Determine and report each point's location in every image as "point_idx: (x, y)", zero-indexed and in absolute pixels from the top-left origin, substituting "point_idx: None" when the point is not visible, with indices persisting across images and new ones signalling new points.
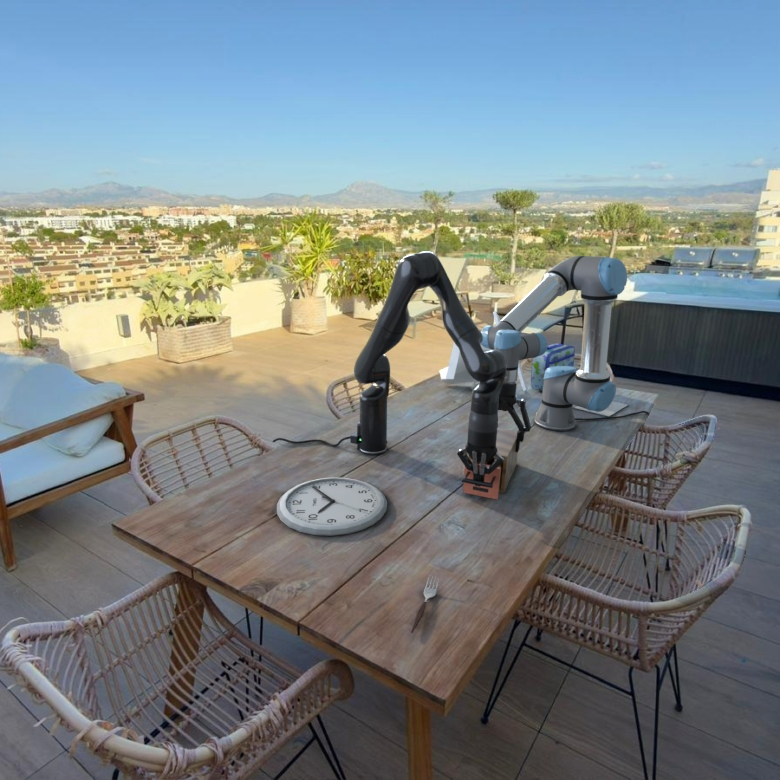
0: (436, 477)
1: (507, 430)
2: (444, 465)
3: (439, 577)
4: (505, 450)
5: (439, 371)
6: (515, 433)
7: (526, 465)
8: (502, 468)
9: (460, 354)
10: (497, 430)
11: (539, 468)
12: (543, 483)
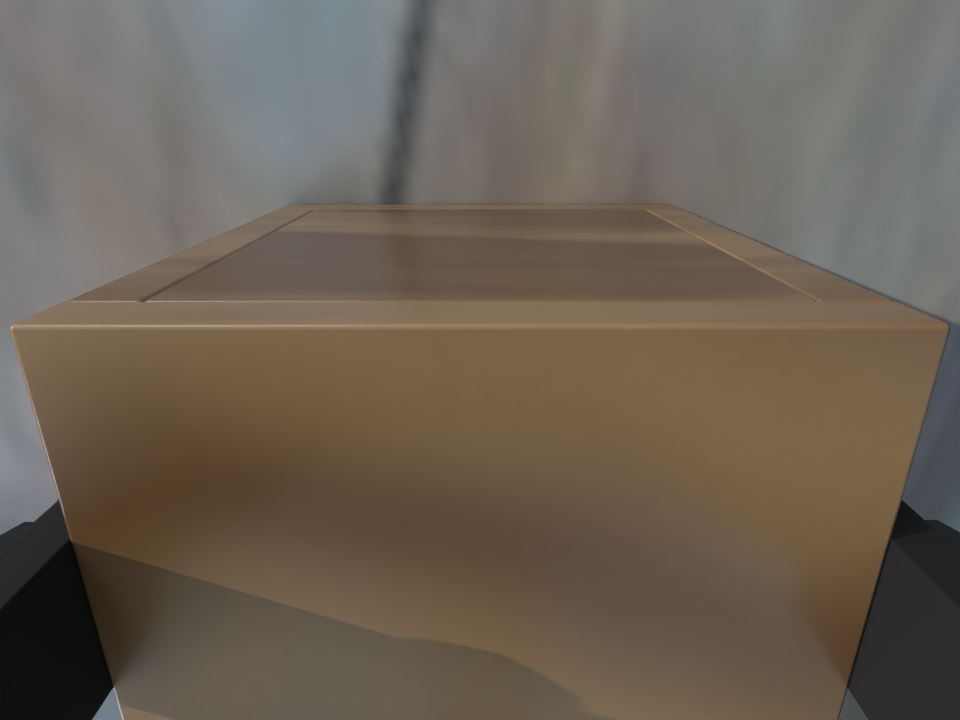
0: (102, 705)
1: (625, 388)
2: (38, 515)
3: None
4: None
5: None
6: (829, 490)
7: (779, 185)
8: None
9: None
10: (392, 489)
11: (919, 203)
12: (918, 499)
